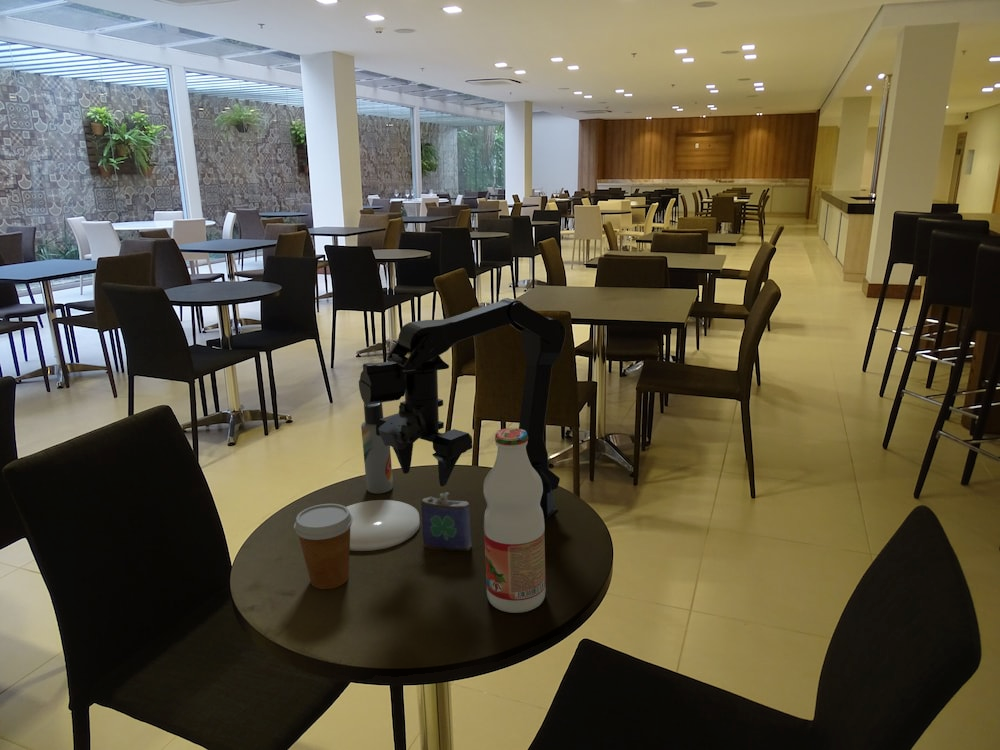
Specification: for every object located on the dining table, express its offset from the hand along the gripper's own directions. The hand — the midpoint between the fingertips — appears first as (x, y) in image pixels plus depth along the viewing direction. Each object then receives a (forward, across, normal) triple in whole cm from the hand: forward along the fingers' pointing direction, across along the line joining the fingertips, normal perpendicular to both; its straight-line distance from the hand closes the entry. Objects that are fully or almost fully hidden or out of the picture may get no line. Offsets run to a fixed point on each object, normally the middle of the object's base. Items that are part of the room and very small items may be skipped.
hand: (424, 479), depth 128 cm
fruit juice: (+13, +23, -3) cm, 27 cm away
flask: (+13, +3, +2) cm, 14 cm away
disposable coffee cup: (+14, -6, -18) cm, 23 cm away
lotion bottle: (+13, -26, +12) cm, 32 cm away
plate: (+13, -14, -1) cm, 19 cm away
